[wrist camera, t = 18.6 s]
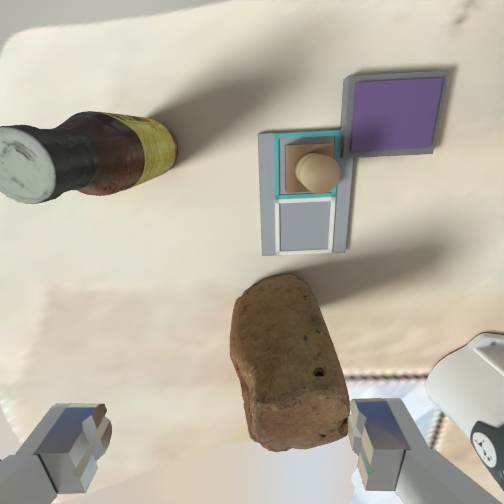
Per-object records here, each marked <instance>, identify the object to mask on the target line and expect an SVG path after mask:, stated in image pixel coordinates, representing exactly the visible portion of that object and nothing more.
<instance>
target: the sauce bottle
mask: <svg viewBox="0 0 504 504" xmlns="http://www.w3.org/2000/svg"><path fill="white" fill-rule="evenodd" d="M177 155H178V148H177V143H176V140H175V137H174V135H173V134H172V132H171V131H170V130H169V129H168V128H167V127H166V126H164V125H163V124H161V123H160V122H158V121H156V120H154V119H150V118H144V117H136V116H129V115H120V114H111V113H103V112H92V111H87V112H81V113H77V114H75V115H73V116H71V117H70V118H69V119H67V120H66V121H65V122H64V123H62V124H61V125H59V126H58V127H56V128H53V129H38V128H36V127H32V126H29V125H13V126H1V127H0V192H2V193H3V194H5V195H6V196H7V197H9V198H11V199H14V200H16V201H17V202H22V203H26V204H37V203H42V202H46V201H49V200H52V199H56V198H57V197H59V196H60V195H61V194H62V193H63V192H66V191H70V190H78V191H80V192H82V193H84V194H88V195H96V196H102V195H110V194H114V193H117V192H119V191H123V190H127V189H129V188H132V187H134V186H137V185H139V184H141V183H144V182H146V181H148V180H151V179H153V178H155V177H158V176H160V175H162V174H164V173H166V172H167V171H168V170H169V169H170V168H171V167H172V166H173V165H174V162H175V160H176V158H177Z"/></svg>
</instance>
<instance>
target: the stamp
mask: <svg viewBox="0 0 504 504" xmlns="http://www.w3.org/2000/svg"><path fill="white" fill-rule="evenodd" d="M333 158H334V143H318V144H299V145H285V190H286V192H287V193H296V192H313V193H316V194H324V193H327V192H329V191H332V189H333V188H334V187H335V186H336V185H337V183H338V182H339V179H340V167H339V165H338V163H337V162H336V161H335V160H334V159H333Z"/></svg>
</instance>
